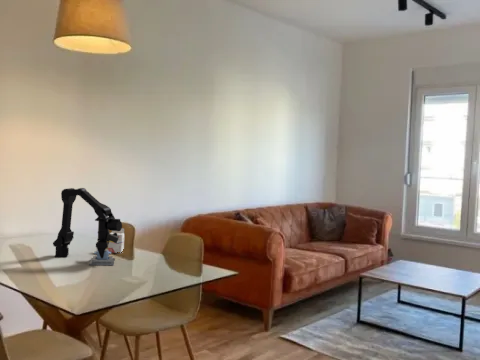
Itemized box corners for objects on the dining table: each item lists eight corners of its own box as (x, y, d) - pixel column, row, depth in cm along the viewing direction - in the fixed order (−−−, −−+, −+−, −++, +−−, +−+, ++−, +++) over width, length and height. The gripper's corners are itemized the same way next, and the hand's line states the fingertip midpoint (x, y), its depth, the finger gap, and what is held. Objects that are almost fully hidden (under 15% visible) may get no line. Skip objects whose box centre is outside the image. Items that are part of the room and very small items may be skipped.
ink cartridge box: (107, 252, 306) (108, 228, 305) (110, 250, 311) (111, 227, 310) (121, 253, 306) (122, 229, 304) (124, 251, 310) (124, 228, 309)
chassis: (89, 265, 274) (89, 260, 274) (91, 259, 287) (91, 255, 287) (113, 265, 277) (113, 261, 277) (114, 259, 289) (115, 255, 289)
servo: (93, 261, 279) (94, 250, 279) (94, 259, 283) (94, 248, 282) (110, 261, 281) (110, 250, 280) (110, 259, 285) (111, 248, 284)
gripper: (117, 232, 273) (116, 261, 274) (119, 226, 291) (118, 253, 292) (96, 232, 271) (95, 260, 272) (99, 226, 289) (98, 252, 290)
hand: (102, 256), depth 282 cm, fingers open, 6 cm apart
